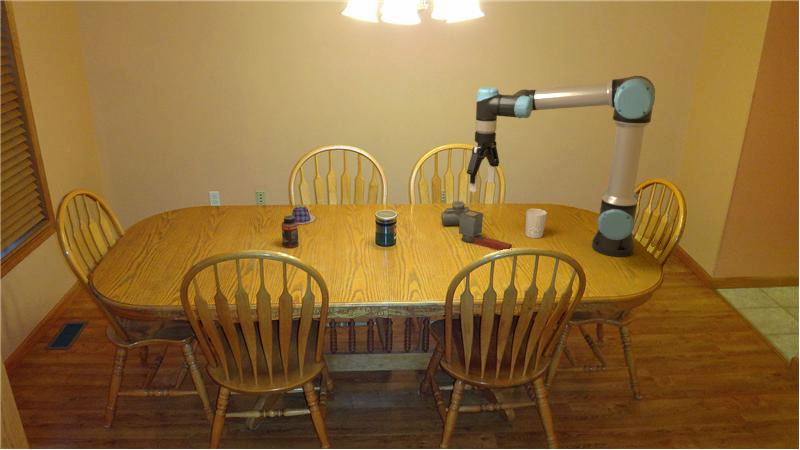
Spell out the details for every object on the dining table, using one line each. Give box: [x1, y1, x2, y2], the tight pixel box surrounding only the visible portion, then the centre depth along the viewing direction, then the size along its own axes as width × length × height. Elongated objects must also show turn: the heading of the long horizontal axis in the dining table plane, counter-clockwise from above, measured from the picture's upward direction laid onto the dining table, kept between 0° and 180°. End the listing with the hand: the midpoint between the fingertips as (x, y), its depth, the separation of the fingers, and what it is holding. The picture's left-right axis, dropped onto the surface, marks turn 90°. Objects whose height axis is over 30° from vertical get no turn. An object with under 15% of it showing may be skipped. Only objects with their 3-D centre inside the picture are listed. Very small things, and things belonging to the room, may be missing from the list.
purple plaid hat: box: [291, 206, 316, 225], centre depth 244 cm, size 12×12×5 cm
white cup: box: [525, 208, 548, 239], centre depth 232 cm, size 8×8×10 cm
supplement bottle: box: [281, 214, 300, 249], centre depth 217 cm, size 6×6×11 cm
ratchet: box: [461, 234, 513, 251], centre depth 222 cm, size 20×6×7 cm, turn 53°
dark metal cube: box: [458, 209, 484, 237], centre depth 225 cm, size 6×6×8 cm
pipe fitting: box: [440, 200, 471, 227], centre depth 241 cm, size 12×8×10 cm
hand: (482, 187), depth 220 cm, fingers open, 13 cm apart
